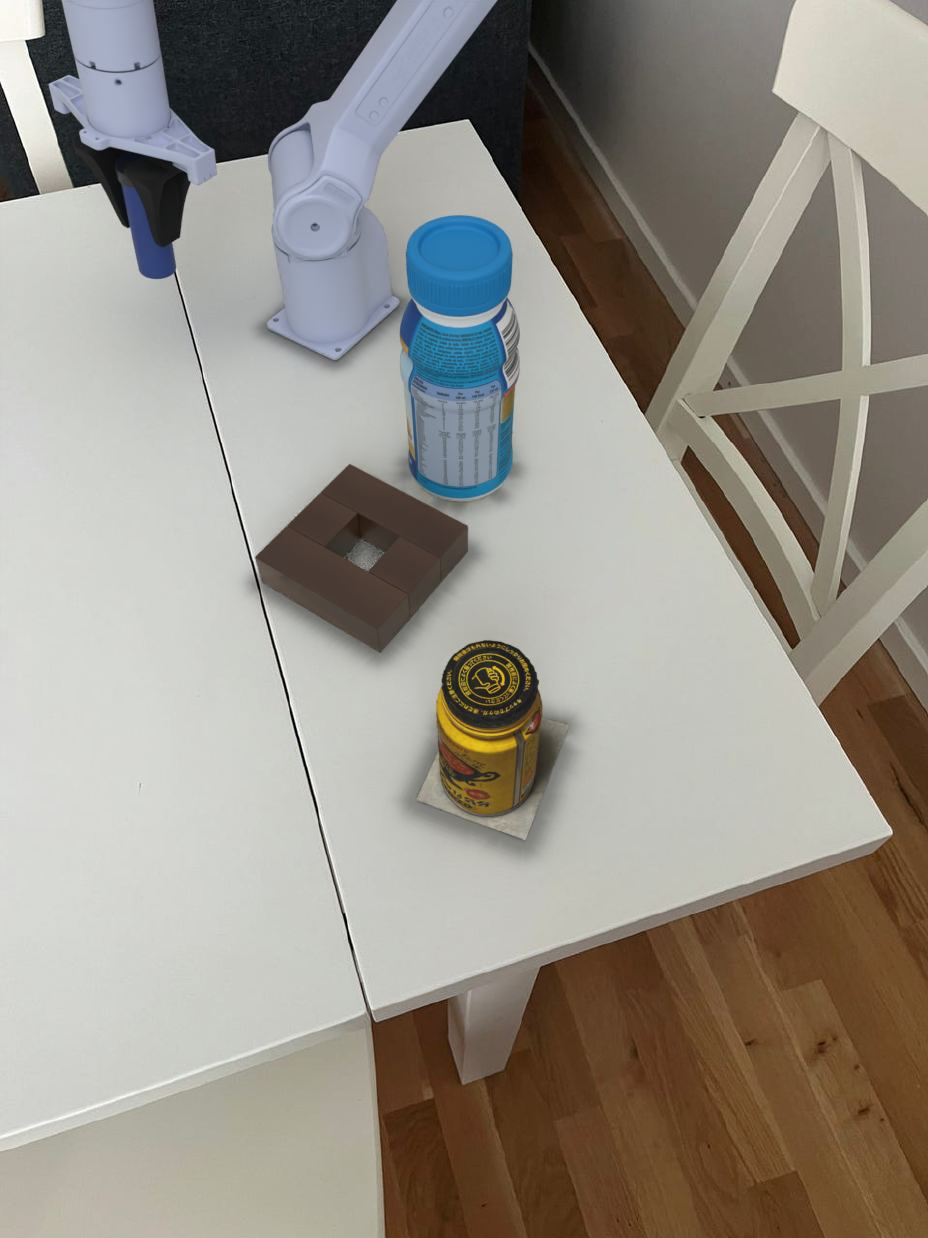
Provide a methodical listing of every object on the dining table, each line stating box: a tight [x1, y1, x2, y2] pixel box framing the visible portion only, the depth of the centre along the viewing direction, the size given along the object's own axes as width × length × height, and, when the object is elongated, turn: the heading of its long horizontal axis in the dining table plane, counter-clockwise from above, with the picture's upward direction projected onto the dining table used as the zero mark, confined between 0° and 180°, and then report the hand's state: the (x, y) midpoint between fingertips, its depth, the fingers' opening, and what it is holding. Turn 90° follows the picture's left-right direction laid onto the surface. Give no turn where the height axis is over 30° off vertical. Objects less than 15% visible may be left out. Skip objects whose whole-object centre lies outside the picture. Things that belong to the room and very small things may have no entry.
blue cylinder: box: [115, 152, 177, 280], centre depth 77 cm, size 3×3×9 cm
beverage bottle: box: [399, 214, 521, 502], centre depth 70 cm, size 8×8×20 cm
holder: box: [254, 463, 469, 653], centre depth 71 cm, size 11×11×3 cm
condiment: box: [415, 639, 570, 841], centre depth 58 cm, size 7×8×12 cm
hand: (151, 230), depth 78 cm, fingers closed on blue cylinder, 3 cm apart
